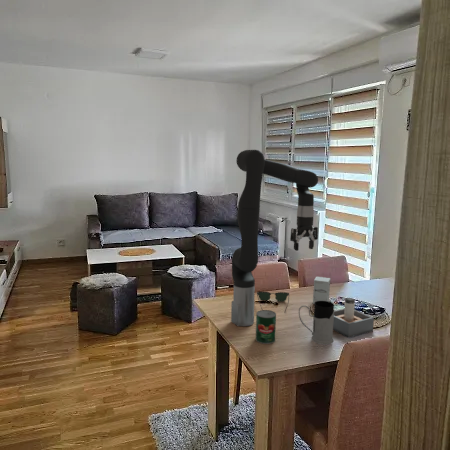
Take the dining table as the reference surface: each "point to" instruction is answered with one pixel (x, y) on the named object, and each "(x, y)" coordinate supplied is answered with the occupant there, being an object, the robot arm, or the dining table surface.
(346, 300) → the peg
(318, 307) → the mug
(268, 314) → the canned tomato
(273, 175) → the robot arm
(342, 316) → the walled box
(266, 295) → the sunglasses
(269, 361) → the dining table surface
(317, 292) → the supplement box
